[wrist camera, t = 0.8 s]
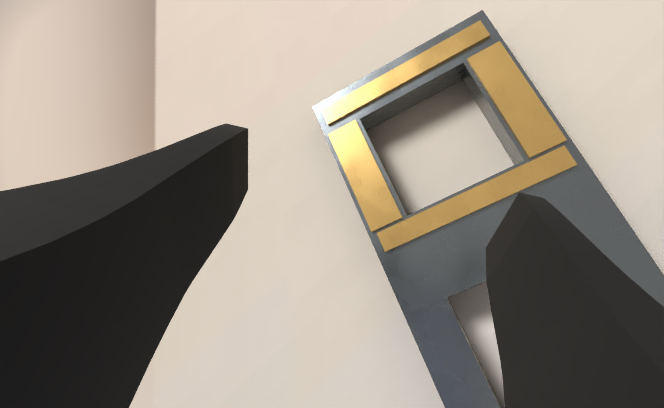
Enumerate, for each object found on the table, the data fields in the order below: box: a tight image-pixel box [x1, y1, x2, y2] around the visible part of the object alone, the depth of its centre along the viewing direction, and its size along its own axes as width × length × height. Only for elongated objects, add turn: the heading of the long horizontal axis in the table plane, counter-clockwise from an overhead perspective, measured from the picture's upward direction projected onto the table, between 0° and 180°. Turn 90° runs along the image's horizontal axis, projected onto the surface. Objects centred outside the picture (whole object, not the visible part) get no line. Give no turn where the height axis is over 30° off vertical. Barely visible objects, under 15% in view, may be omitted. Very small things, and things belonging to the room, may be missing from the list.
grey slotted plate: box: [312, 10, 664, 408], centre depth 21 cm, size 24×12×2 cm, turn 23°
